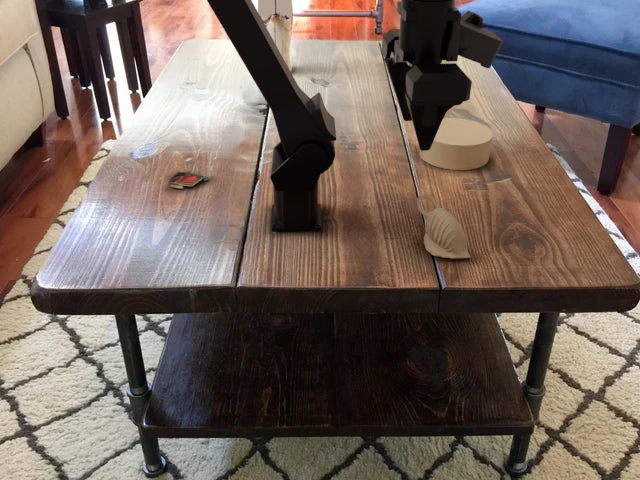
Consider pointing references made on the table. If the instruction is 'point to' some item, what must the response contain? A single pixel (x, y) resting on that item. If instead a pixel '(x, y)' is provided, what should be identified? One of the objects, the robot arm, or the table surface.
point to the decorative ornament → (443, 232)
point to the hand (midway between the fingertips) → (416, 134)
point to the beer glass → (278, 24)
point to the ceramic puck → (459, 145)
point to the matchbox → (185, 179)
